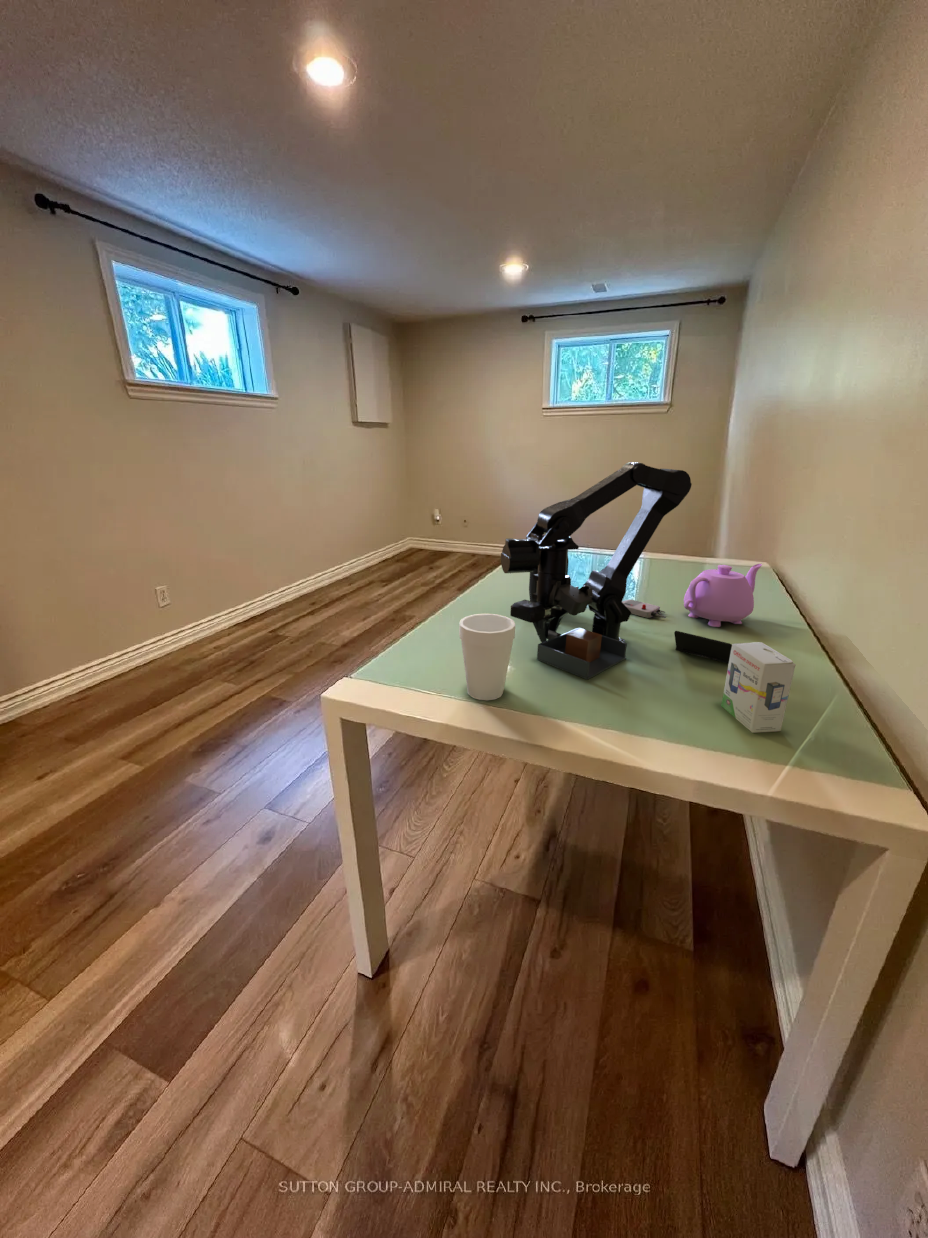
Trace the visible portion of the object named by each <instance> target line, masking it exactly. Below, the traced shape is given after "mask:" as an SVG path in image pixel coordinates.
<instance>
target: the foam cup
mask: <svg viewBox="0 0 928 1238" xmlns="http://www.w3.org/2000/svg"><path fill="white" fill-rule="evenodd" d="M458 630H459V631H458V634H459V639H460V642H461V650H462V657H463V666H464V674H465V681H466V682H465V683H466V689H467V694H468V696H470V697H471V698H473V699H476V700H479V701H493V700H497V699H499V698H501V697H502V696H503V694H504V689H505V686H506V680H507V674H508V670H509V664H510V659H511V654H512V649H513V643H514V640H515V638H516V622H515V620H514V619H512V618H510V617H508V616H505V615H503V614H502V615H501V614H496V613H475V614H470V615H466V616H464V617H462V618H461V619H460V620H459V624H458Z"/></svg>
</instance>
